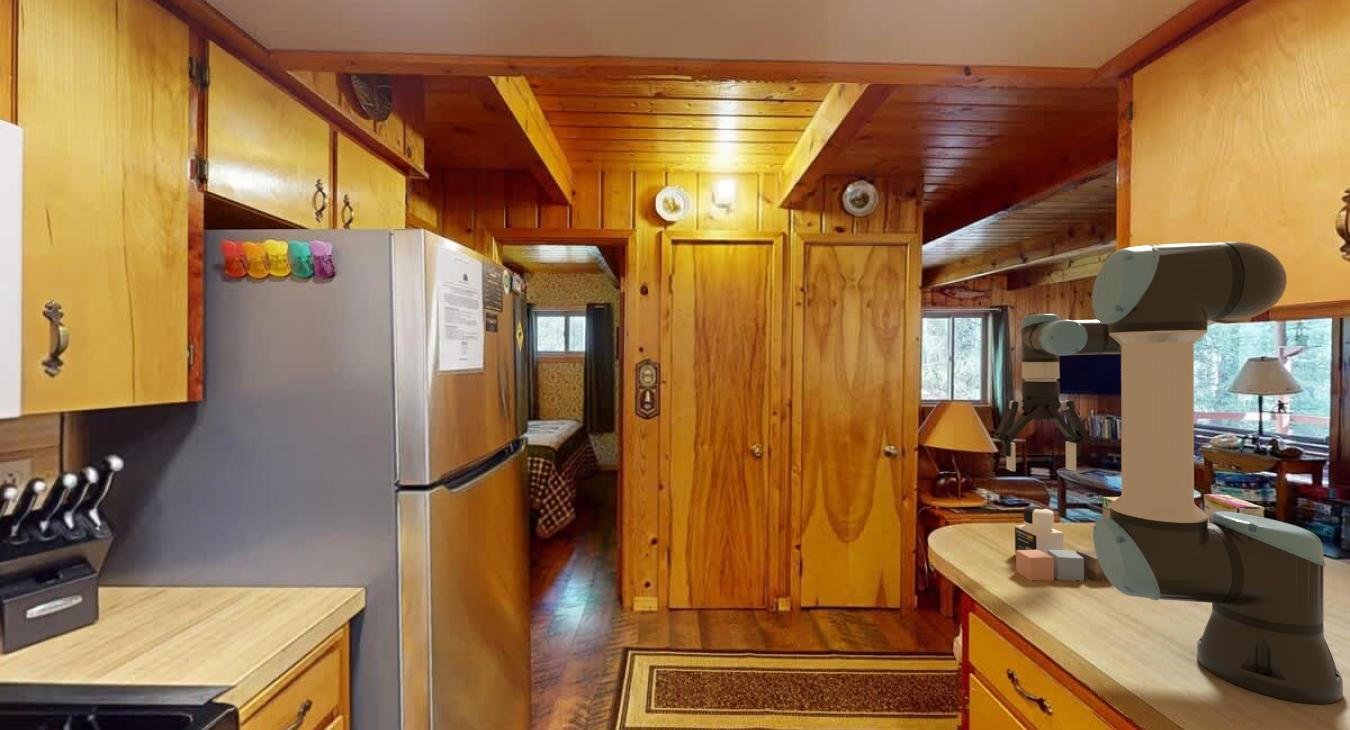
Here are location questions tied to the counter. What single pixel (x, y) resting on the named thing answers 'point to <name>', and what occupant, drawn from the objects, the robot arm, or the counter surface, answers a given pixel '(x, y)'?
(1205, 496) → the candy bar box
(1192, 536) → the robot arm
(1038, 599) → the counter surface
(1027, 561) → the terracotta cube
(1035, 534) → the medicine bottle
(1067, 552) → the slate blue cube
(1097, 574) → the walnut cube
